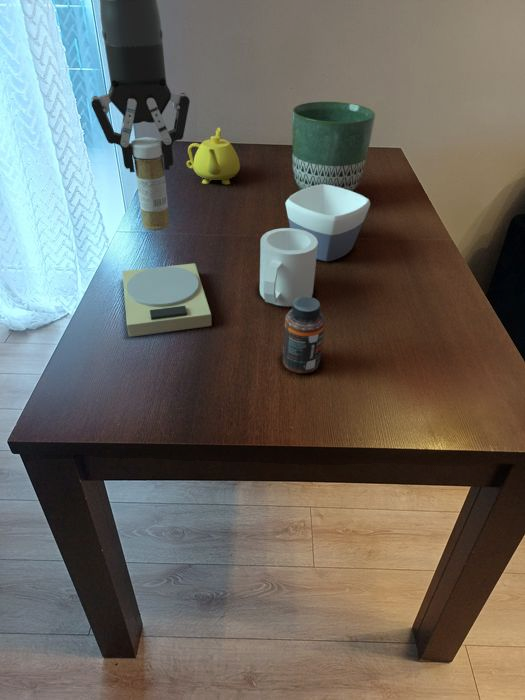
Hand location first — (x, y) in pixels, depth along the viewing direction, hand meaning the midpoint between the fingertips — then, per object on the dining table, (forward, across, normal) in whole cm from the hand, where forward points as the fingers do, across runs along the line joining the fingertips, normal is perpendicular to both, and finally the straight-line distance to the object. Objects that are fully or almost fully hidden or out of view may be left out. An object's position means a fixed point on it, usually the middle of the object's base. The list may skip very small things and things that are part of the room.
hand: (149, 168), depth 76 cm
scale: (+24, 0, 0) cm, 24 cm away
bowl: (+25, -36, -14) cm, 46 cm away
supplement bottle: (+25, -19, +22) cm, 38 cm away
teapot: (+25, -20, -60) cm, 68 cm away
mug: (+25, -22, +2) cm, 33 cm away
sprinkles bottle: (+10, 0, 0) cm, 10 cm away
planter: (+25, -46, -40) cm, 65 cm away
